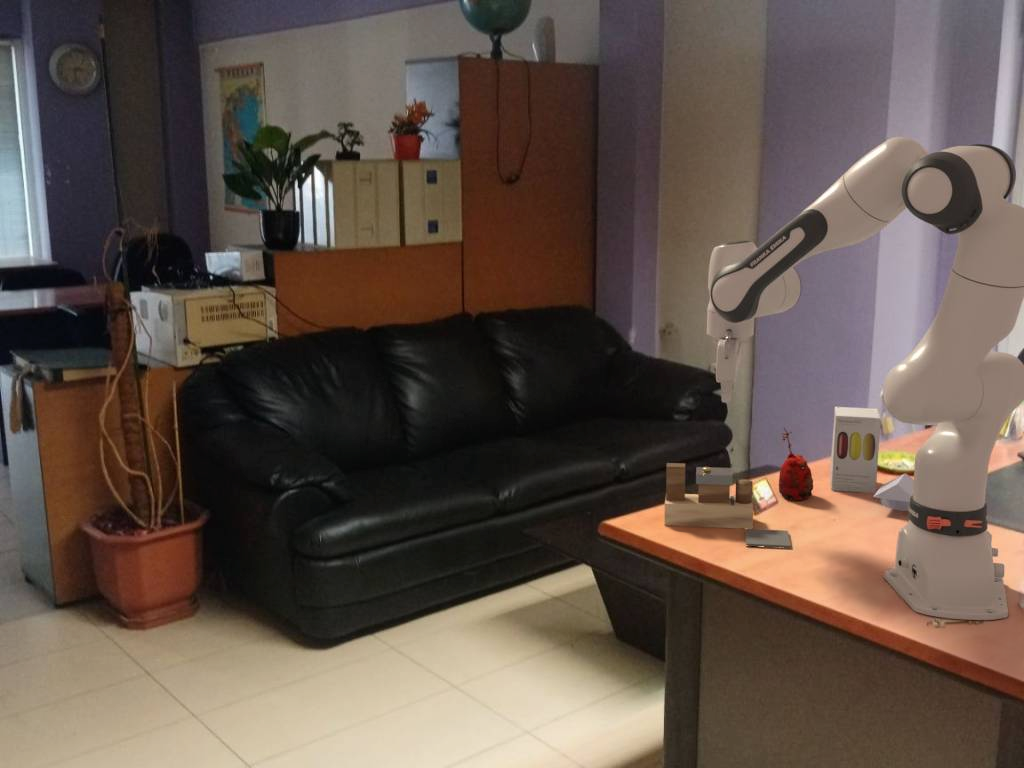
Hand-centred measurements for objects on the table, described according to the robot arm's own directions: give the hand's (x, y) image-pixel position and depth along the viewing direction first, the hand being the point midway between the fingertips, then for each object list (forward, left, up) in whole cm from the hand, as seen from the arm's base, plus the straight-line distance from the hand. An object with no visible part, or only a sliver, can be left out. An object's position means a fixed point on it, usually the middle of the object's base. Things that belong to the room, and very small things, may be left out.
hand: (727, 395), depth 199 cm
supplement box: (+26, -28, -26) cm, 46 cm away
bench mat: (-10, -8, -26) cm, 28 cm away
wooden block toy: (-1, +3, -26) cm, 26 cm away
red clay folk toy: (+17, -15, -26) cm, 34 cm away
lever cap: (-1, +2, -17) cm, 17 cm away
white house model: (+13, -36, -26) cm, 46 cm away
